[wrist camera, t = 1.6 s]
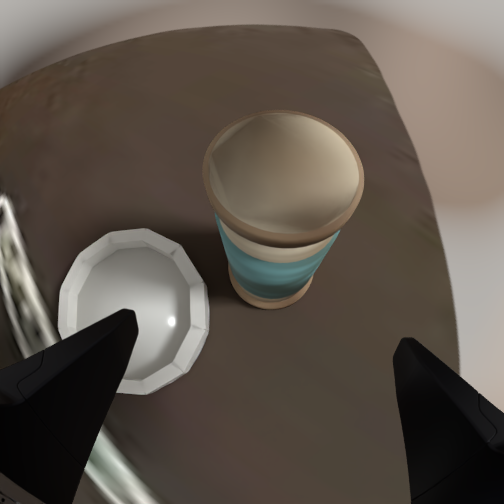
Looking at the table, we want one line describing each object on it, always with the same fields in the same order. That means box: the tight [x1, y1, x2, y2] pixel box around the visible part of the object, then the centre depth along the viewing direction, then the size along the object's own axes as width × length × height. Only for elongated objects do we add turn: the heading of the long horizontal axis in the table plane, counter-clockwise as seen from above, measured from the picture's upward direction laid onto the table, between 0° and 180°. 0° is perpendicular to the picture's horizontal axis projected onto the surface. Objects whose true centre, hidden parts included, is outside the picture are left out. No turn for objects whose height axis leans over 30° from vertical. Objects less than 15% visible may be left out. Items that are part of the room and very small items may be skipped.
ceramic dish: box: [58, 228, 210, 395], centre depth 20 cm, size 12×12×2 cm
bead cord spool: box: [203, 110, 364, 310], centre depth 16 cm, size 6×6×13 cm
